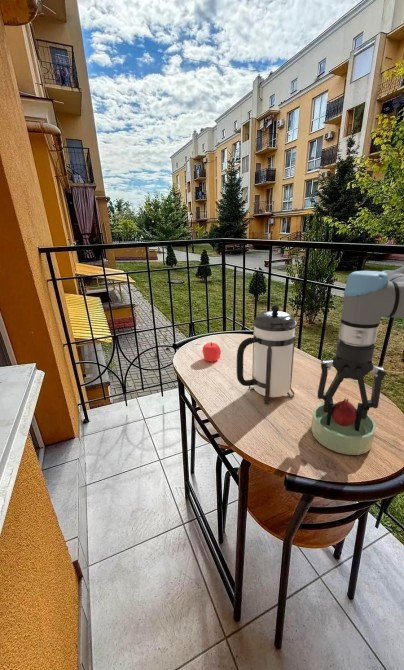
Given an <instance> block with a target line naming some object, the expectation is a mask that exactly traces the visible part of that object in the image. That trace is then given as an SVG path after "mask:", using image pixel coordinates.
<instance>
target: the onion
mask: <svg viewBox="0 0 404 670" xmlns="http://www.w3.org/2000/svg"><path fill="white" fill-rule="evenodd" d="M335 403H336V404H335V405H334V406H333V408H332V418H333V420H334V421H335V422H336V423H337V424H338V425H340V426H350V425H352V424H353V423H354V422H355V421H356V419H357V411H356V409H355V407H356V406H354V405H353V403H351V402H350V400H349V398H347V397H345V398H343V400H340V401H337V402H335Z"/></svg>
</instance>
